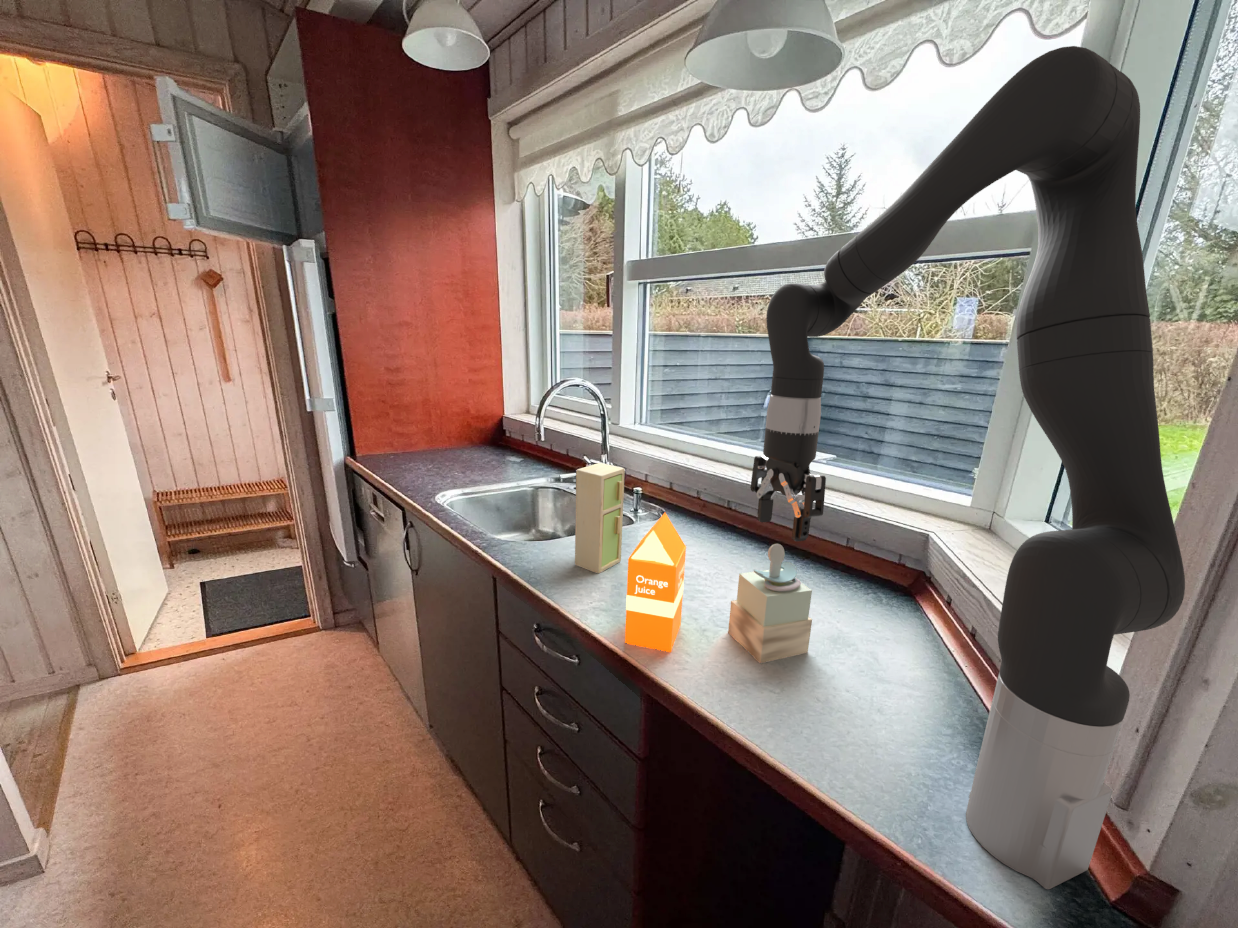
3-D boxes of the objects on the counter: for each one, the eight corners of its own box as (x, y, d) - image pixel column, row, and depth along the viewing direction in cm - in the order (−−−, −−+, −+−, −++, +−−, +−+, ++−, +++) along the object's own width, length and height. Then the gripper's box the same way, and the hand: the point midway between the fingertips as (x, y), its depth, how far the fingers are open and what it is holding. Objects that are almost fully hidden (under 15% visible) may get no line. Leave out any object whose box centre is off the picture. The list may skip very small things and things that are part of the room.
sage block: (808, 619, 84) (812, 590, 83) (763, 626, 82) (767, 596, 81) (778, 595, 92) (781, 568, 90) (736, 601, 89) (739, 573, 88)
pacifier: (809, 588, 84) (781, 571, 89) (815, 551, 82) (786, 536, 87) (774, 598, 81) (747, 580, 86) (779, 559, 79) (751, 543, 84)
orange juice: (681, 624, 93) (689, 514, 88) (671, 652, 84) (679, 533, 79) (637, 616, 95) (642, 508, 90) (623, 643, 87) (628, 526, 82)
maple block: (807, 653, 86) (812, 619, 84) (760, 664, 83) (764, 629, 81) (772, 624, 94) (776, 592, 92) (728, 633, 91) (731, 600, 89)
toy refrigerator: (601, 575, 110) (603, 475, 104) (573, 565, 114) (575, 469, 109) (624, 562, 116) (628, 468, 111) (597, 553, 120) (600, 462, 115)
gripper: (847, 434, 74) (832, 544, 78) (782, 418, 87) (772, 513, 91) (803, 436, 72) (790, 550, 76) (743, 419, 85) (734, 517, 89)
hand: (780, 530), depth 83 cm, fingers open, 8 cm apart
